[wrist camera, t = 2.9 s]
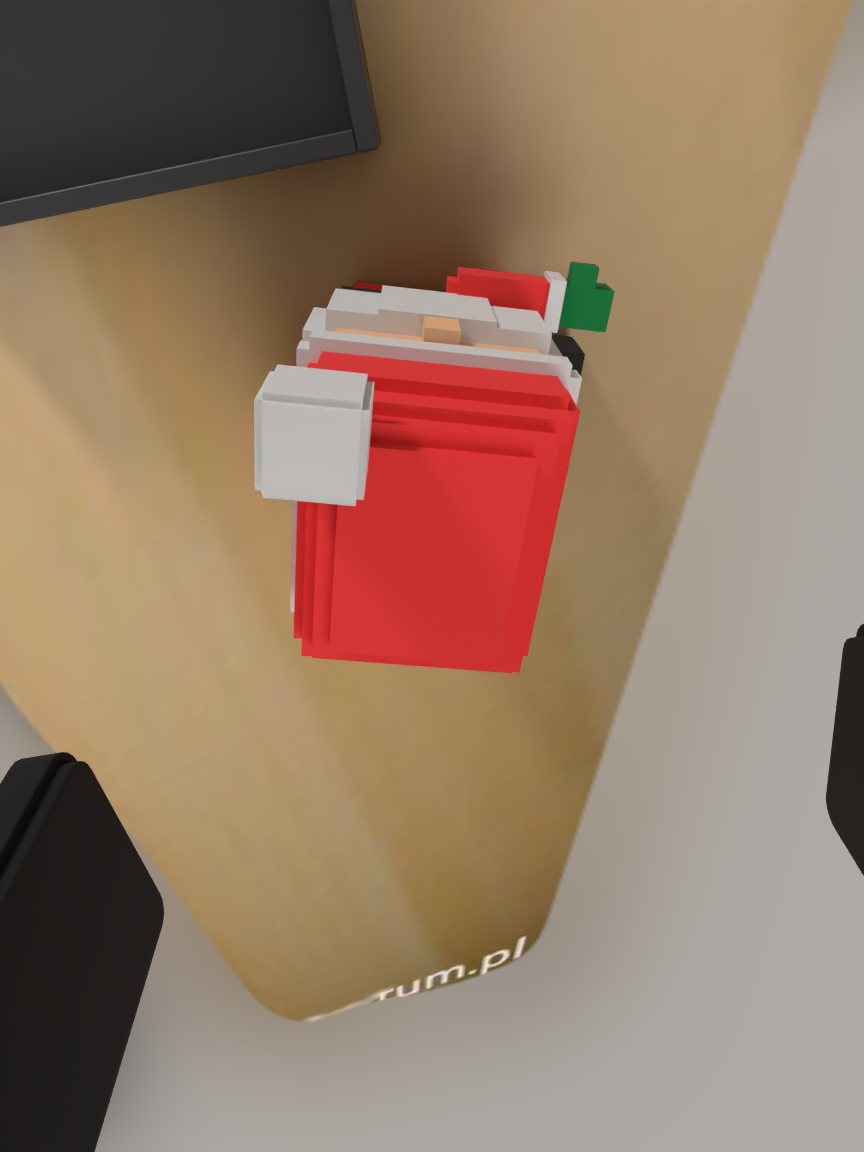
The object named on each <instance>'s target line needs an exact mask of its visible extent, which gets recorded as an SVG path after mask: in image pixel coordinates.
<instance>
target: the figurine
mask: <svg viewBox="0 0 864 1152" xmlns="http://www.w3.org/2000/svg"><path fill="white" fill-rule="evenodd" d="M598 272H599V267H598V266H596V265H595V264H586V263H578V262H571V263H570V268H569V273H568V278H567V279H564V278H563V276H562V275H561V274H560V273H559V272H550V271H545V272H544V277H542V276H533V275H525V274H516V273H508V272H499V271H490V270H482V269H473V268H465V267H458V273H457V277H453V276H447V284H446V292H441V291H432V290H423V289H415V288H406V287H397V286H388V285H380V284H371V283H362V282H354V285H353V287H347V286H342V288H341V289H338V288H335V291H334V293H333V295H332V297H331V300H330V302H329V304H328V306H327V308H318V307H314V309H313V310H312V312H311V314H310V316H309V318H308V320H307V322H306V324H305V326H304V328H303V330H302V341H301V340H300V342H299V344H298V346H297V351H296V366H288V365H277V367H276V369H275V370H274V371H270V372H269V374H268V376H267V378H266V379H265V381H264V383H263V385H262V387H261V388H260V390H259V392H258V394H257V396H256V397H255V399H254V422H255V490H261V494H263V498H271V499H282V500H293V524H292V567H291V611H290V612H294V638H302V656H312V658H322V659H335V660H348V661H361V662H374V663H387V664H400V665H413V666H426V667H439V668H452V669H465V670H478V671H491V672H504V673H512V672H520V667H521V663H522V658H523V656H527V654H528V649H529V645H530V640H531V636H532V631H533V626H534V622H535V617H536V613H537V608H538V603H539V599H540V594H541V590H542V585H543V580H544V576H545V571H546V566H547V562H548V557H549V553H550V548H551V543H552V539H553V534H554V530H555V525H556V520H557V516H558V511H559V507H560V502H561V497H562V493H563V488H564V484H565V479H566V474H567V470H568V465H569V461H570V456H571V451H572V447H573V442H574V438H575V433H576V428H577V424H578V419H579V414H580V411H579V409H578V407H577V400H578V396H579V391H580V386H581V382H582V378H581V376H580V375H581V370H582V366H583V361H584V356H585V354H584V353H583V351H582V350H581V348H580V347H579V346H578V344H577V343H576V342H575V340H574V339H573V337H568V336H559V335H552V333H551V332H553V333H557V332H558V327H563V328H572V329H581V330H590V331H599V332H606V327H607V323H608V318H609V314H610V309H611V305H612V300H613V296H614V291H613V290H612V289H611V288H610V287H609V286H608V285H606V284H602V283H596V281H597V276H598Z"/></svg>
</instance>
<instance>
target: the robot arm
mask: <svg viewBox="0 0 864 1152" xmlns="http://www.w3.org/2000/svg"><path fill="white" fill-rule="evenodd" d="M826 804H827V809H828V813H829V816H830V819H831V822H832V824H833V826H834V828H835V829H836V831H837V833H838V835H839V836H840V838H841V839H842V841H843V843H844V844H845V846H846V848H847V849H848V851H849V853H850V854H851V856H852V857H853V859H854V860H855V862H856V864H857V866H858V867H859V869H860V871H861V872H862V874H863V875H864V624H862V625H861V626H860V627H859V629H858V631H857V635H856V637H854V638H849V639H847V640H846V642H845V643H844V648H843V653H842V662H841V671H840V679H839V688H838V697H837V705H836V714H835V724H834V731H833V740H832V749H831V757H830V766H829V775H828V783H827V793H826ZM163 918H164V906H163V901H162V897H161V895H160V893H159V891H158V889H157V887H156V885H155V884H154V882H153V880H152V878H151V876H150V874H149V873H148V871H147V869H146V867H145V866H144V864H143V862H142V860H141V858H140V856H139V855H138V853H137V851H136V849H135V847H134V846H133V844H132V842H131V840H130V838H129V836H128V835H127V833H126V831H125V829H124V827H123V826H122V824H121V822H120V820H119V818H118V817H117V815H116V813H115V811H114V809H113V808H112V806H111V804H110V802H109V800H108V798H107V797H106V795H105V793H104V791H103V789H102V788H101V786H100V784H99V782H98V780H97V779H96V777H95V775H94V773H93V771H92V770H91V768H90V767H89V765H88V764H87V763H85V762H83V761H78V762H77V760H76V759H75V758H74V756H72V755H71V754H69V753H65V752H61V753H55V754H49V755H43V756H36V757H30V758H24V759H20V760H18V761H16V762H15V763H14V764H13V765H12V766H11V768H10V769H9V771H8V772H7V774H6V776H5V777H4V779H3V780H2V782H1V784H0V1152H95V1148H96V1145H97V1142H98V1138H99V1135H100V1132H101V1128H102V1125H103V1122H104V1118H105V1115H106V1112H107V1108H108V1105H109V1102H110V1098H111V1095H112V1092H113V1088H114V1085H115V1081H116V1078H117V1075H118V1072H119V1068H120V1065H121V1062H122V1058H123V1055H124V1051H125V1048H126V1045H127V1042H128V1038H129V1035H130V1032H131V1028H132V1025H133V1022H134V1018H135V1014H136V1012H137V1008H138V1005H139V1001H140V998H141V995H142V991H143V988H144V985H145V982H146V978H147V975H148V971H149V968H150V965H151V962H152V958H153V955H154V951H155V948H156V945H157V942H158V938H159V935H160V932H161V928H162V924H163Z"/></svg>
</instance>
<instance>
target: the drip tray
mask: <svg viewBox="0 0 864 1152" xmlns="http://www.w3.org/2000/svg"><path fill="white" fill-rule="evenodd" d="M380 145H381V138H380V132H379V127H378V122H377V116H376V111H375V105H374V100H373V95H372V89H371V84H370V78H369V73H368V68H367V62H366V57H365V51H364V46H363V41H362V35H361V30H360V24H359V19H358V14H357V8H356V3H355V0H0V227H1V226H6V225H11V224H16V223H21V222H26V221H30V220H35V219H40V218H45V217H50V216H55V215H60V214H64V213H69V212H74V211H79V210H84V209H89V208H94V207H98V206H103V205H108V204H113V203H118V202H123V201H128V200H132V199H137V198H142V197H147V196H152V195H157V194H162V193H166V192H171V191H176V190H181V189H186V188H191V187H196V186H200V185H205V184H210V183H215V182H220V181H225V180H229V179H234V178H239V177H244V176H249V175H254V174H259V173H263V172H268V171H273V170H278V169H283V168H288V167H293V166H297V165H302V164H307V163H312V162H317V161H322V160H327V159H331V158H336V157H341V156H346V155H351V154H355V153H357V152H365V151H370V150H375V149H377V148H378V147H380Z"/></svg>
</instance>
